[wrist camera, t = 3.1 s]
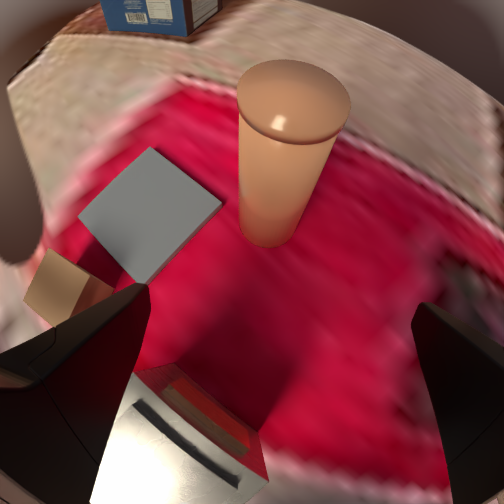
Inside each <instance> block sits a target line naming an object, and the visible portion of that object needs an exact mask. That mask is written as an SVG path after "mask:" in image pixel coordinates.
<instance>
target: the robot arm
mask: <svg viewBox="0 0 504 504" xmlns="http://www.w3.org/2000/svg"><path fill="white" fill-rule="evenodd" d="M150 312H151V303H150V294H149V287H148V285H147V284H144V283H133V284H132V285H130V286H128V287H126V288H124V289H122V290H120V291H118V292H117V293H115V294H113V295H111V296H109V297H107V298H105V299H104V300H102V301H100V302H98V303H96V304H94V305H92V306H91V307H89V308H87V309H85V310H83V311H81V312H80V313H78V314H76V315H74V316H72V317H70V318H69V319H67V320H65V321H63V322H61V323H60V324H58V325H56V328H55V327H52V328H51V329H49V330H47V331H45V332H43V333H42V334H40V335H38V336H36V337H34V338H32V339H30V340H28V341H26V342H24V343H22V344H20V345H18V346H15V347H13V348H11V349H9V350H7V351H5V352H3V353H0V504H90V500H91V496H92V493H93V489H94V486H95V482H96V479H97V475H98V472H99V469H100V467H99V466H100V465H101V461H102V458H103V455H104V452H105V449H106V446H107V442H108V439H109V436H110V433H111V430H112V427H113V424H114V421H115V418H116V416H117V413H118V410H119V407H120V404H121V401H122V399H123V396H124V393H125V390H126V387H127V385H128V382H129V379H130V377H131V374H132V371H133V369H134V366H135V364H136V361H137V358H138V356H139V353H140V350H141V346H142V342H143V338H144V334H145V331H146V327H147V323H148V319H149V316H150ZM411 329H412V333H413V337H414V341H415V346H416V350H417V354H418V359H419V363H420V366H421V369H422V372H423V375H424V379H425V382H426V385H427V388H428V392H429V395H430V398H431V402H432V406H433V409H434V413H435V416H436V420H437V424H438V428H439V432H440V436H441V440H442V445H443V449H444V454H445V459H446V463H447V469H448V475H449V480H450V486H451V492H452V499H453V504H487V503H489V502H490V501H492V500H494V499H496V498H497V500H498V503H499V504H504V347H502V346H501V345H500V344H498V343H497V342H495V341H494V340H492V339H490V338H489V337H487V336H486V335H484V334H482V333H481V332H479V331H478V330H476V329H474V328H473V327H471V326H469V325H468V324H466V323H464V322H463V321H461V320H459V319H458V318H456V317H454V316H453V315H451V314H449V313H448V312H446V311H444V310H443V309H441V308H439V307H438V306H436V305H434V304H432V303H430V302H421V303H420V304H419V305H418V307H417V310H416V312H415V314H414V317H413V319H412V322H411Z"/></svg>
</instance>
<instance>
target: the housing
mask: <svg viewBox="0 0 504 504" xmlns="http://www.w3.org/2000/svg"><path fill="white" fill-rule="evenodd" d="M99 467H100V469H99V472H98V475H97V479H96V482H95V486H94V489H93V493H92V496H91V500H90V502H91V503H92V504H245V503H246V502H247V501H248V500H250V499H251V498H252V497H253V496H254V495H255V494H256V493H258V492H259V491H260V490H261V489H262V488H263V487H264V486H265V485H266V484H268V483H269V479H268V475H267V471H266V466H265V462H264V457H263V453H262V449H261V444H260V440H259V435H258V432H257V431H256V430H254V429H253V428H252V427H250V426H249V425H248V424H246V423H245V422H244V421H242V420H241V419H240V418H239V417H237V416H236V415H235V414H233V413H232V412H231V411H230V410H228V409H227V408H226V407H225V406H223V405H222V404H221V403H220V402H218V401H217V400H216V399H215V398H214V397H212V396H211V395H210V394H209V393H208V392H206V391H205V390H204V389H203V388H202V387H201V386H199V385H198V384H197V383H196V382H195V381H194V380H193V379H191V378H190V377H189V376H188V375H187V374H186V373H185V372H184V371H182V370H181V369H180V368H179V367H178V366H177V365H176V364H175V363H172V364H168V365H164V366H160V367H155V368H151V369H147V370H142V371H138V372H133V373H132V374H131V377H130V379H129V382H128V385H127V387H126V390H125V393H124V396H123V399H122V401H121V404H120V407H119V410H118V413H117V416H116V418H115V421H114V424H113V427H112V430H111V433H110V436H109V439H108V442H107V446H106V449H105V452H104V455H103V458H102V461H101V465H100V466H99Z"/></svg>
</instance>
